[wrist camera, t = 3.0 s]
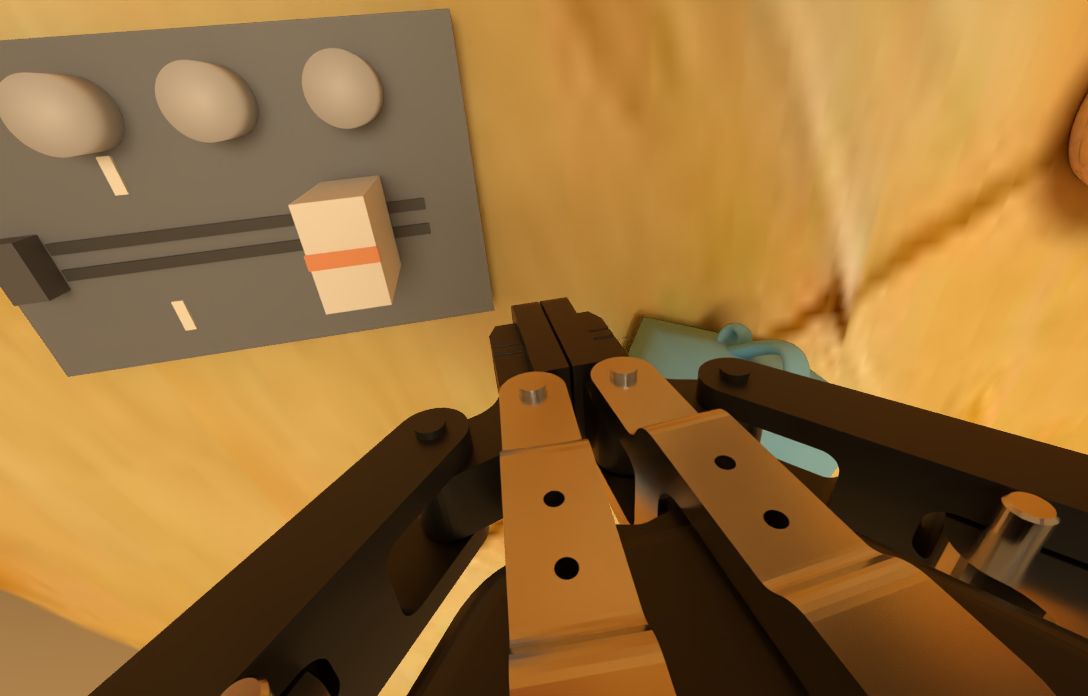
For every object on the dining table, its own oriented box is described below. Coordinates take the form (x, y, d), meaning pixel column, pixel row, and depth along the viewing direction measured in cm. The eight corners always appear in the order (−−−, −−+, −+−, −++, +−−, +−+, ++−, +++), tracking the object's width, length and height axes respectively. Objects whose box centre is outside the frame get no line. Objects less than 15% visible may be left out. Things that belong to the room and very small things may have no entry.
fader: (380, 174, 25) (363, 196, 19) (402, 264, 27) (392, 305, 22) (319, 181, 24) (286, 205, 19) (347, 272, 27) (324, 316, 21)
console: (448, 14, 24) (450, -1, 20) (491, 298, 32) (498, 326, 28) (-110, 55, 21) (-233, 46, 17) (90, 359, 29) (36, 400, 25)
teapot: (781, 308, 37) (927, 398, 26) (699, 458, 43) (788, 583, 32) (574, 257, 32) (647, 344, 21) (515, 437, 38) (546, 578, 27)
